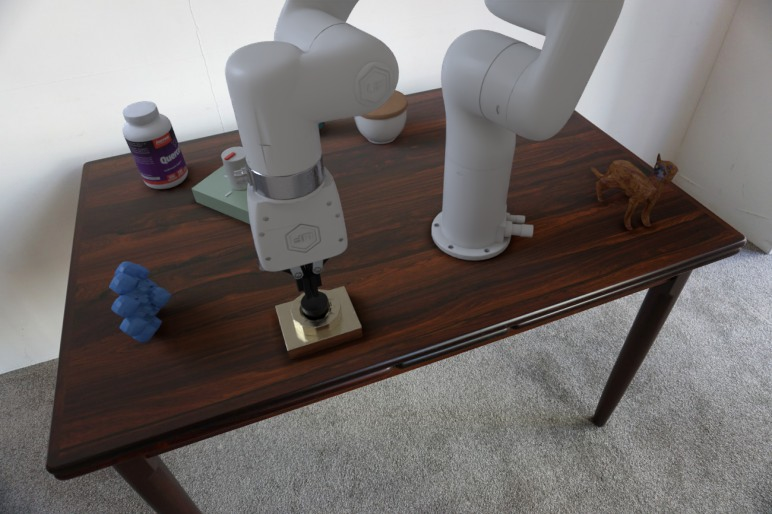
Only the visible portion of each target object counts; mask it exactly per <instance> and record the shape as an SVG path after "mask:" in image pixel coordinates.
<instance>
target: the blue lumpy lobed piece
mask: <svg viewBox="0 0 772 514" xmlns="http://www.w3.org/2000/svg"><path fill="white" fill-rule="evenodd" d="M150 272H151V270H149V269H147V267H145V266H144V265H143V264H139V263H134V262H131V261H128V260H125V261H122V262H121V263H119V264H118V266H117V268H116V270H115V271H114V277H113V278H112V279H111V282H110V283H109V285H108V288H109V289H110V290H111V291H113V292H114V293H115V294H117V295H118V297H117V298H116V299H115V300H114V301H113V303H112V305H111V308H110V310H111V311H112V312H114V313H115V315H118V316H119V317H121V318H124V319H123V320H122V322H121V324H120V325H119V329H120V331H122V332H123V333H124V334H126V335H127V336H129V337H131V338H132V339H134V340H135V341H137V342H138V343H141V344H144V343H148V342H149V341H150V340H151V339H153V337H154V335H155V333H156V332H157V331H158V330H159V329H160V327H161V325H162V323H163V321H162V320H161V319H160V318H158V317H157V316H156V315H157V314H158V313H160V310H161V309H162V308H163V307H164V306H165V305H167V304H168V302H169V301H170V299H171V297H172V293H171V292H169V290H167V289H165V288H164V287H161V286H159V285H158V284H157V283H156V282H154V281H153V280H151V278H150V279H149V278H148V276H149V274H150Z"/></svg>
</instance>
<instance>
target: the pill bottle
mask: <svg viewBox="0 0 772 514" xmlns="http://www.w3.org/2000/svg"><path fill="white" fill-rule="evenodd" d="M122 116H123V118H124V120H125V123H124V124H123V126H122V135H123V137H124V140H125V142H126V144H127V147H128V149H129V151H130V153H131V155H132V158H133V160H134V163H135V164H136V167H137V169H138V171H139V174H140V176H141V179H142V180H143V182H144V184H145V185H146V186H147V187H148V188H151V189H154V190H166V189H167V190H168V189H171V188H174V187H177V186H178V185H179V184H182V183H183V182H184V181H185V180H186V178H187V177H188V174H189V169H188V165H187V163H186V161H185V157H184V155H183V152H182V149H181V147H180V144H179V141H178V138H177V135H176V133H175V130H174V127H173V124H172V122H171V119H170V118H169V117H168V116H166V115H165V114H163V113H160V111H159V108H158V106H157V104H156V103H155V102H153V101H150V100H141V101H137V102H134V103H130V104H129V105H127V106H126V107H124V108H123V110H122Z"/></svg>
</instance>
